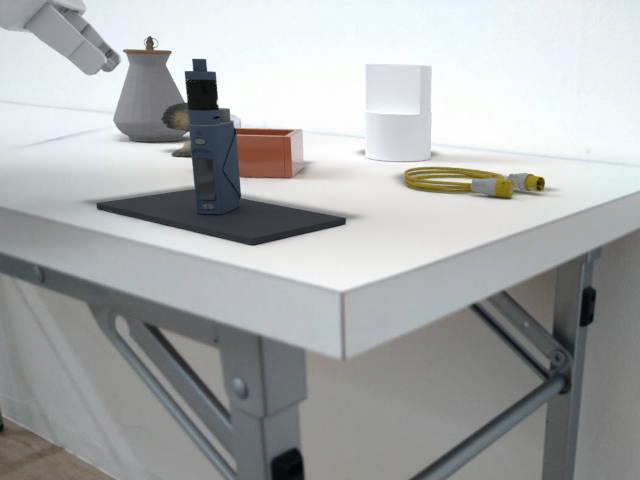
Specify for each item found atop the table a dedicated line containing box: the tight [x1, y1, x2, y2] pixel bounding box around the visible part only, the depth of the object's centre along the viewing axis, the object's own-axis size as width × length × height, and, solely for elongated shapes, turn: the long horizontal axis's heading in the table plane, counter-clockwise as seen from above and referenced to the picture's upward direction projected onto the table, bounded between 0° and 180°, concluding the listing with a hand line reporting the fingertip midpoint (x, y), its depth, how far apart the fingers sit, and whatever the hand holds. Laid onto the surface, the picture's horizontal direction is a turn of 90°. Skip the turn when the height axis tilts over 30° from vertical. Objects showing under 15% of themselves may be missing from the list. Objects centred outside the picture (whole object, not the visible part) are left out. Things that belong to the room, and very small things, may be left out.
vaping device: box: [184, 58, 242, 214], centre depth 61 cm, size 3×5×12 cm, turn 172°
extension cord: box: [403, 166, 546, 199], centre depth 80 cm, size 12×16×2 cm
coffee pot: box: [112, 35, 189, 142], centre depth 116 cm, size 21×12×15 cm, turn 18°
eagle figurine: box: [161, 101, 242, 157], centre depth 99 cm, size 8×7×9 cm
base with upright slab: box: [364, 63, 433, 162], centre depth 100 cm, size 9×9×12 cm
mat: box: [95, 188, 347, 246], centre depth 63 cm, size 20×10×1 cm, turn 55°
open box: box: [235, 127, 305, 179], centre depth 86 cm, size 10×9×4 cm
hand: (108, 67), depth 56 cm, fingers open, 8 cm apart
